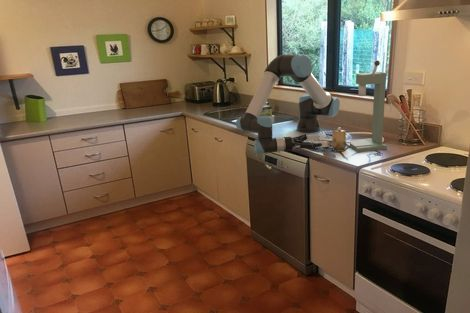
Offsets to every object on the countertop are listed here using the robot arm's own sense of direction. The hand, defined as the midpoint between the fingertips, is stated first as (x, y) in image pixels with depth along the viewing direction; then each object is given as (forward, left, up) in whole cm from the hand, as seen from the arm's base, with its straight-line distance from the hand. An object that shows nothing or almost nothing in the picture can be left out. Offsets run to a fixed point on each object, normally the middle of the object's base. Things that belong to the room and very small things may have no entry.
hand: (322, 140), depth 197 cm
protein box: (-64, -22, -6) cm, 68 cm away
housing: (0, +9, -6) cm, 11 cm away
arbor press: (0, +24, -6) cm, 25 cm away
